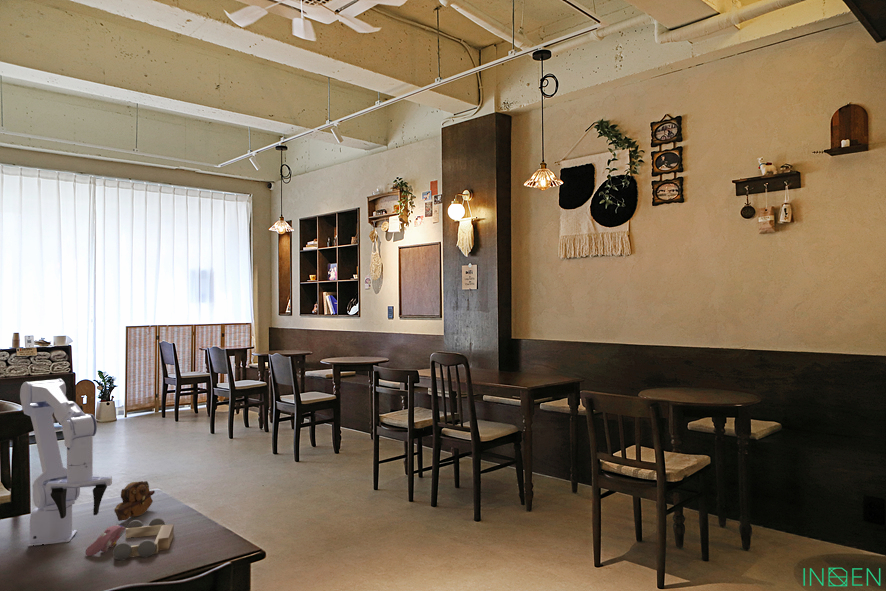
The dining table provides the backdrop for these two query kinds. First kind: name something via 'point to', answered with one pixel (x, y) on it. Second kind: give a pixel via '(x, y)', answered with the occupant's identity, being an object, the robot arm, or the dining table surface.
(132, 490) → the wooden carving
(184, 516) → the dining table surface
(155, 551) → the chassis
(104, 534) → the pink toy figure
